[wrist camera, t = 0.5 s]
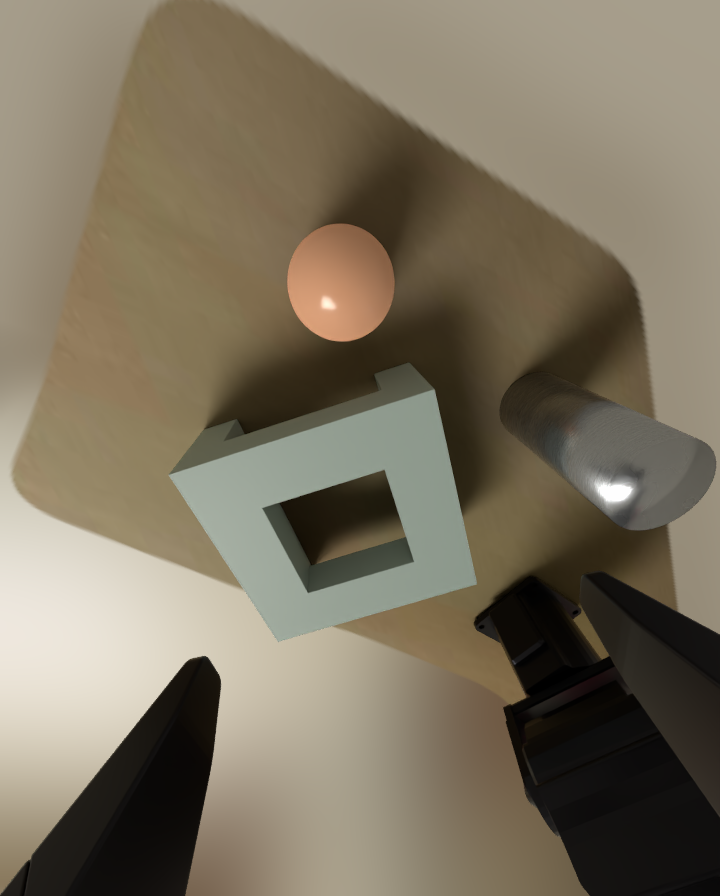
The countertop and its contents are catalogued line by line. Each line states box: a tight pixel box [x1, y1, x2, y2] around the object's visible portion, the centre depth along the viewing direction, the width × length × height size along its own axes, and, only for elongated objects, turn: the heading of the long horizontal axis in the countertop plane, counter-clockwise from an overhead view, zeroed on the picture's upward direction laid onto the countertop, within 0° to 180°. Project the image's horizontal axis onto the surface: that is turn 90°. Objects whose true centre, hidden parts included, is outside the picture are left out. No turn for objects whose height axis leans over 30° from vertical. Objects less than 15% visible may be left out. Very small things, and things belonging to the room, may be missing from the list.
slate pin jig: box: [169, 363, 477, 642], centre depth 20 cm, size 12×12×5 cm
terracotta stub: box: [288, 224, 395, 341], centre depth 15 cm, size 4×4×4 cm
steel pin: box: [500, 372, 716, 530], centre depth 17 cm, size 4×4×9 cm
